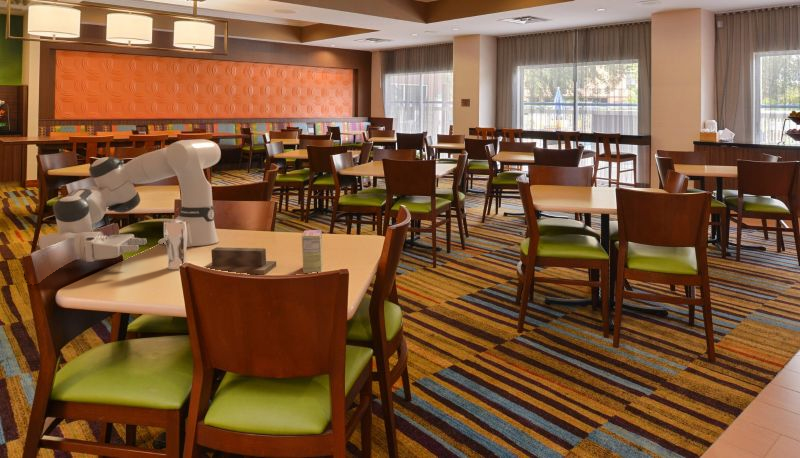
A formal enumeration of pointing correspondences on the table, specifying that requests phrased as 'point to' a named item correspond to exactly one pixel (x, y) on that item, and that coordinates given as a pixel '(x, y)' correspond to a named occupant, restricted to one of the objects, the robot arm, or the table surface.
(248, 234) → the table surface
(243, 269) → the ridge
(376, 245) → the table surface
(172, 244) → the beer glass
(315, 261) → the box
